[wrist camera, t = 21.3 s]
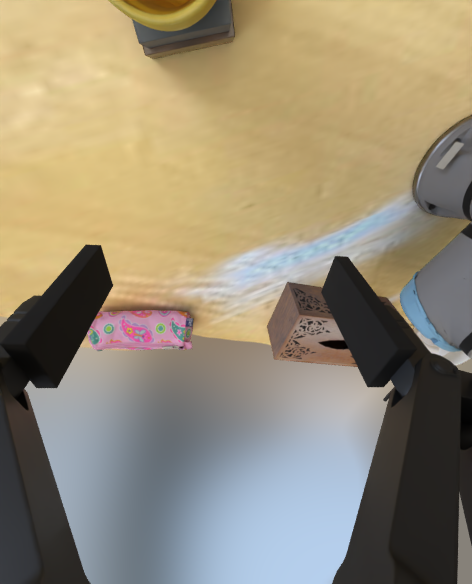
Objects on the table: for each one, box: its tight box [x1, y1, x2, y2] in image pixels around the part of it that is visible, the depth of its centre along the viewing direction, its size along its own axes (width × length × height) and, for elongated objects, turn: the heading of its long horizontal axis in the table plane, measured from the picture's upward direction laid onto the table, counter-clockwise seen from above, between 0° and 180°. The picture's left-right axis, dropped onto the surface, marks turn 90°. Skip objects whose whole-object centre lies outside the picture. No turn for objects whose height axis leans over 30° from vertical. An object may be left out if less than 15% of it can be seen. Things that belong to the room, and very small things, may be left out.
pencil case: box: [88, 310, 193, 351], centre depth 54 cm, size 21×9×9 cm, turn 85°
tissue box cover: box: [267, 282, 412, 367], centre depth 57 cm, size 26×14×10 cm, turn 77°
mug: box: [413, 327, 470, 366], centre depth 63 cm, size 12×8×10 cm
